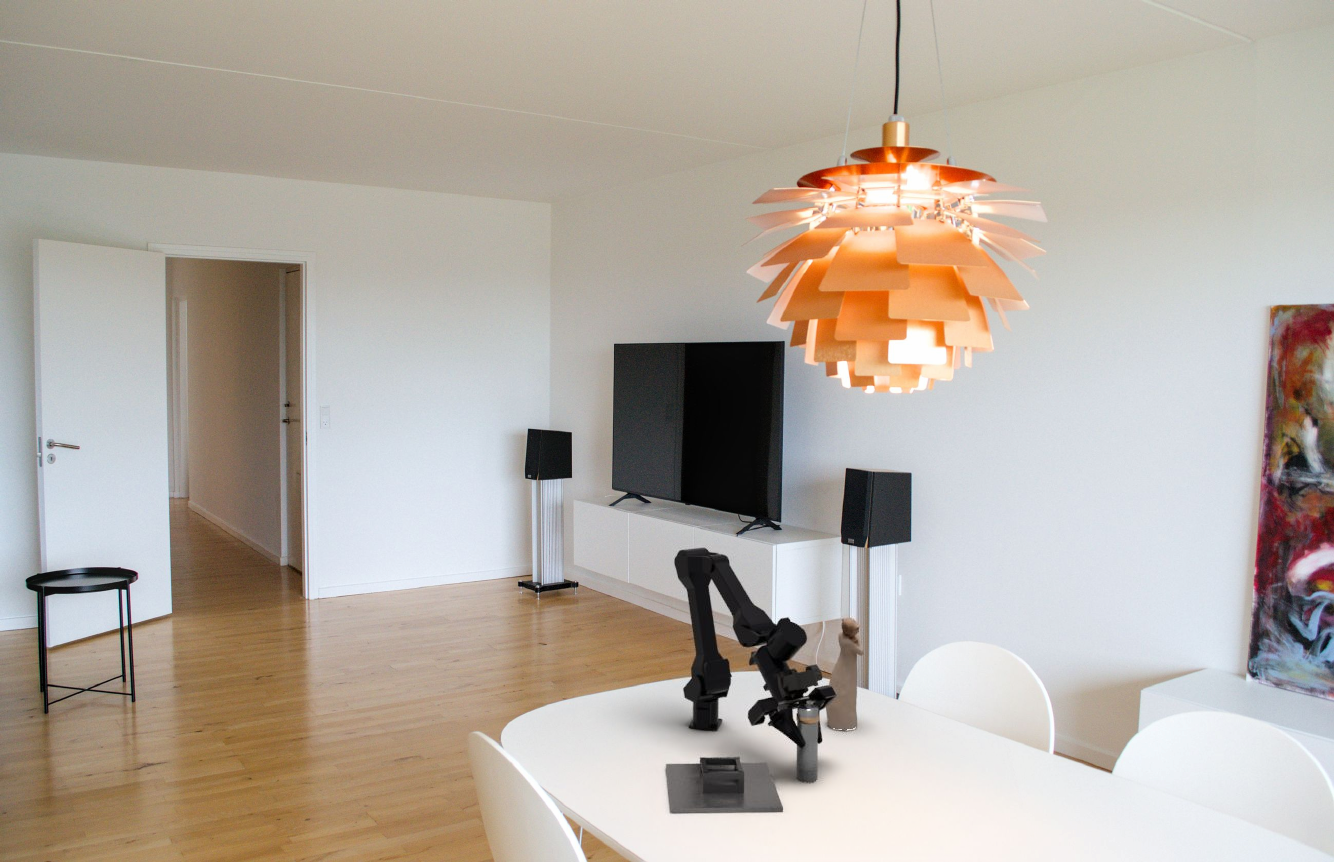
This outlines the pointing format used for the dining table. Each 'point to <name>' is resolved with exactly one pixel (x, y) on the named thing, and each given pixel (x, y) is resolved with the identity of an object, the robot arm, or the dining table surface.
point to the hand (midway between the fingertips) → (812, 744)
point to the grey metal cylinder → (807, 742)
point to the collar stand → (721, 787)
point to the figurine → (845, 678)
